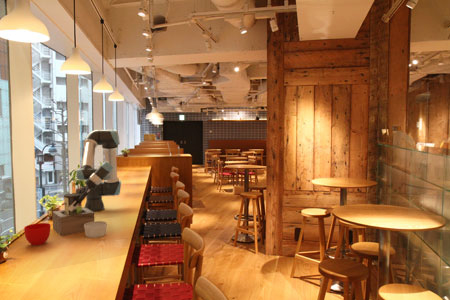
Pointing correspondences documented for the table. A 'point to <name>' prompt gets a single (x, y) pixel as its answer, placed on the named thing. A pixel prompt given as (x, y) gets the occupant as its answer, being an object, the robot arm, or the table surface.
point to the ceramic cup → (37, 233)
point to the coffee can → (69, 200)
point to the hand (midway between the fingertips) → (68, 208)
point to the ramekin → (95, 229)
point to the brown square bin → (71, 221)
